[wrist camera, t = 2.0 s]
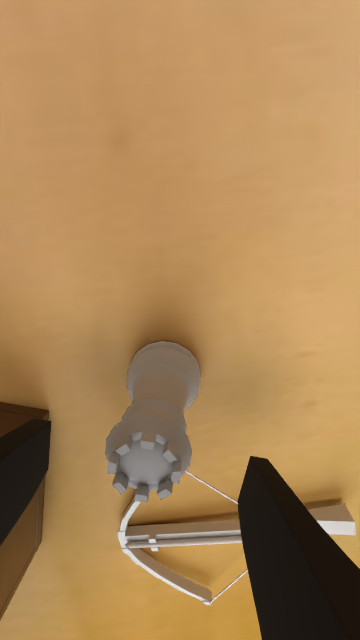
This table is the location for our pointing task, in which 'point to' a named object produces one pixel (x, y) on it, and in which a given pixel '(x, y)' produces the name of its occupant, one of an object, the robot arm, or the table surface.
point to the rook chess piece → (154, 421)
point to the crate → (25, 537)
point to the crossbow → (205, 540)
